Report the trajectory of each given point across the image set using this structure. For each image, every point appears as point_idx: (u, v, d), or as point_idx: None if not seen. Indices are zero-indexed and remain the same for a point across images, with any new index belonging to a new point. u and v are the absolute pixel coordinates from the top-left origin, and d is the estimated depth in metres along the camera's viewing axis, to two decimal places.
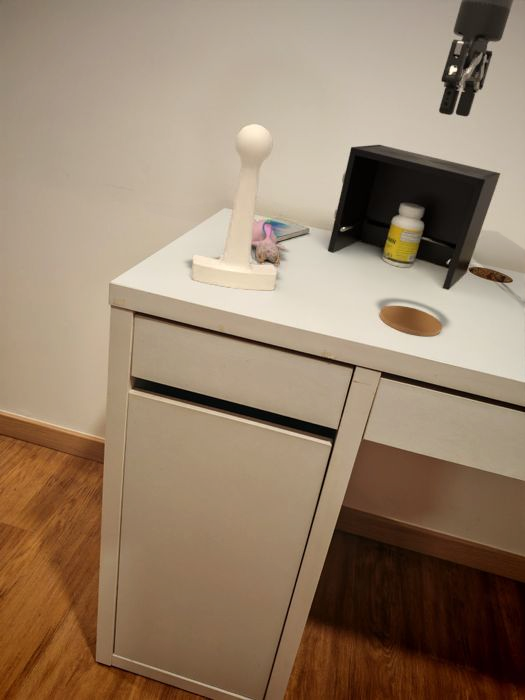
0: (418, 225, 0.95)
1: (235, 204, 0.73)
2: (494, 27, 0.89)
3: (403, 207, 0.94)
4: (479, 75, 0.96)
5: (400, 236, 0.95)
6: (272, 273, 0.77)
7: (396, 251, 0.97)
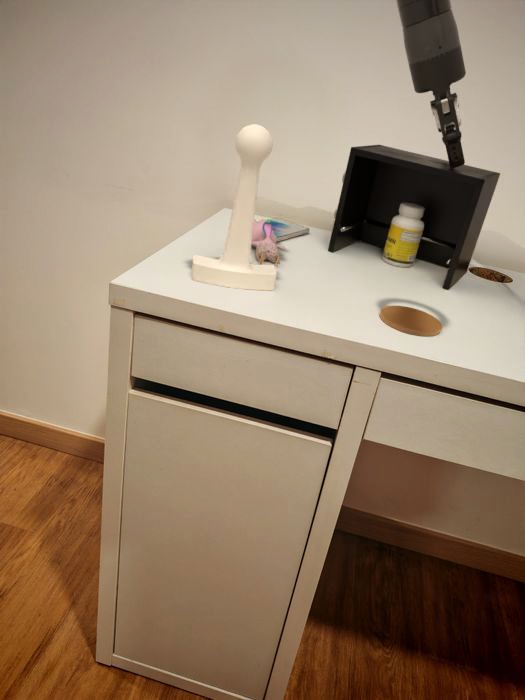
0: (418, 225, 0.95)
1: (235, 204, 0.73)
2: (460, 68, 0.84)
3: (403, 207, 0.94)
4: None
5: (400, 236, 0.95)
6: (272, 273, 0.77)
7: (396, 251, 0.97)
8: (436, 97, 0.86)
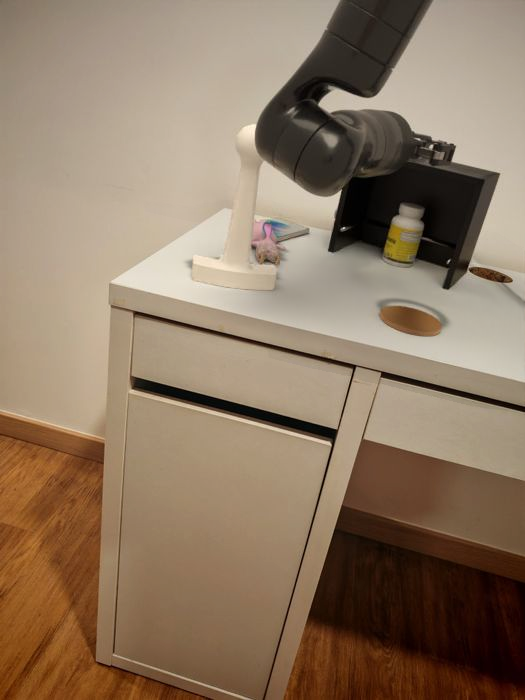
0: (418, 225, 0.95)
1: (235, 204, 0.73)
2: (404, 121, 0.70)
3: (403, 207, 0.94)
4: None
5: (400, 236, 0.95)
6: (272, 273, 0.77)
7: (396, 251, 0.97)
8: (412, 157, 0.73)
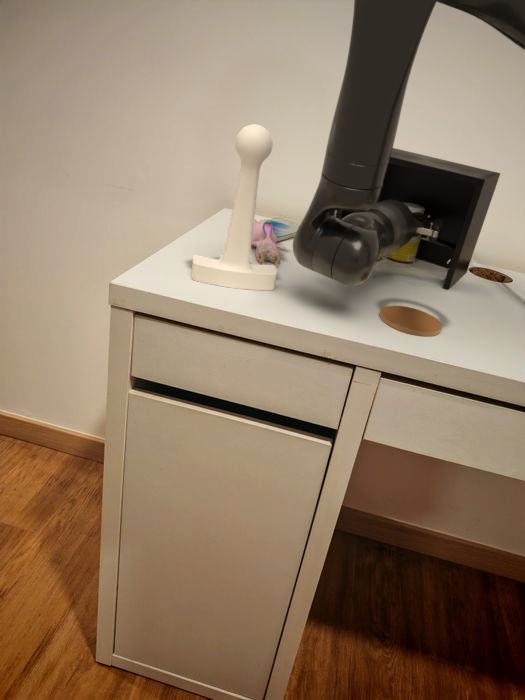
0: None
1: (235, 204, 0.73)
2: (407, 209, 0.85)
3: None
4: None
5: None
6: (272, 273, 0.77)
7: (396, 251, 0.97)
8: (414, 236, 0.88)
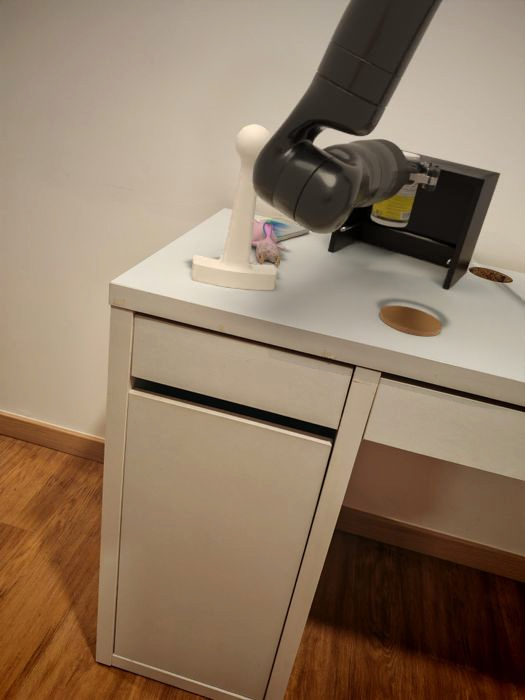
0: None
1: (235, 204, 0.73)
2: (398, 149, 0.70)
3: None
4: None
5: None
6: (272, 273, 0.77)
7: (386, 208, 0.82)
8: (407, 184, 0.73)
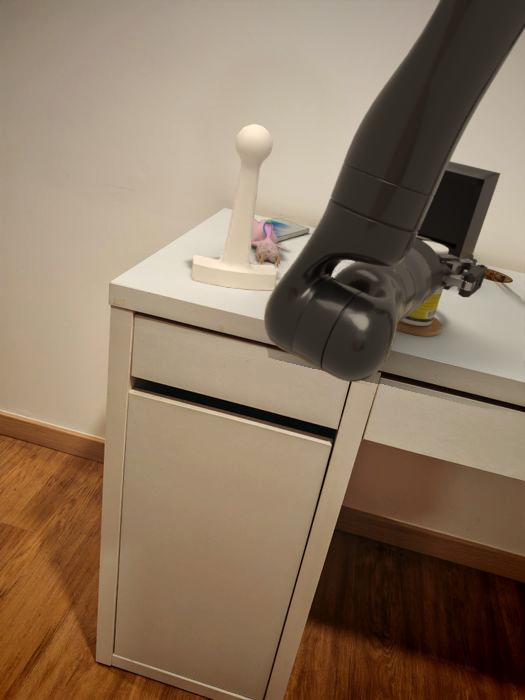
0: None
1: (235, 204, 0.73)
2: (431, 252, 0.61)
3: None
4: None
5: None
6: (272, 273, 0.77)
7: None
8: (440, 286, 0.64)
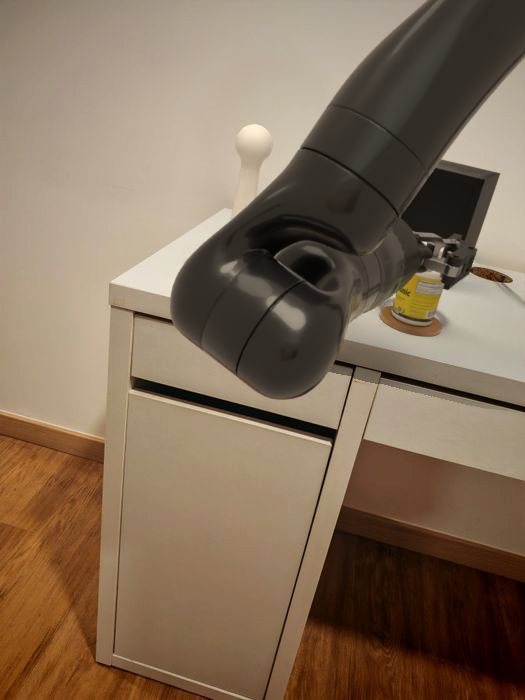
0: None
1: (235, 204, 0.73)
2: (405, 228, 0.48)
3: None
4: None
5: (416, 286, 0.71)
6: None
7: (410, 306, 0.72)
8: (418, 272, 0.52)
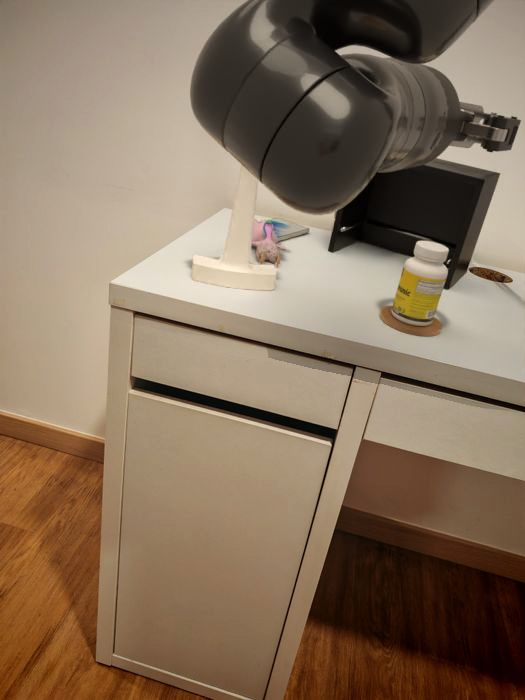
0: (440, 272, 0.70)
1: (235, 204, 0.73)
2: (446, 79, 0.43)
3: (420, 248, 0.70)
4: None
5: (416, 286, 0.71)
6: (272, 273, 0.77)
7: (410, 306, 0.72)
8: (457, 139, 0.46)
